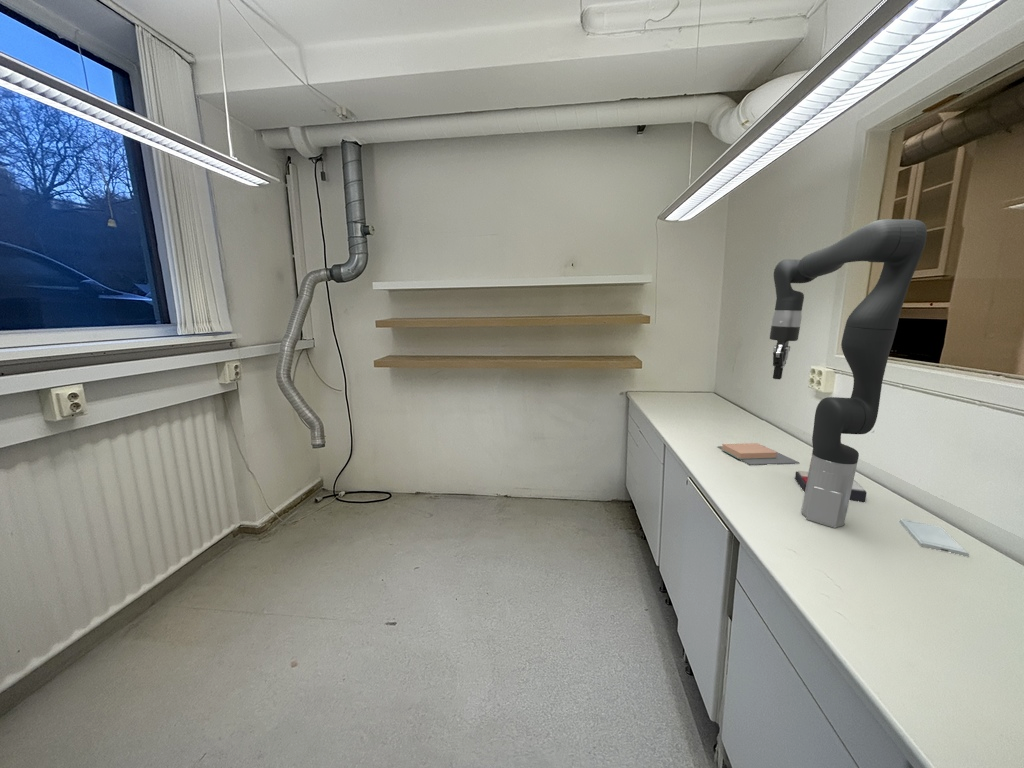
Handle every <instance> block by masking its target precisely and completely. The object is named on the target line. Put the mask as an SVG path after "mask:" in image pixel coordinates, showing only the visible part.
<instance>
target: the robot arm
mask: <svg viewBox="0 0 1024 768" xmlns="http://www.w3.org/2000/svg"><path fill="white" fill-rule="evenodd" d="M927 230H928V229H927V225H925V223H924V222H923V221H921V220H918V219H905V218H904V219H897V218H896V219H893V218H892V219H887V218H886V219H878V220H875V221H872V222H869V223H867V224H866V225H863V226H862V227H860V228H858V229H857V230H855V231H853V232H851V233H850V234H848V235H847V236H846V237H845V236H844V237H843V238H842V239H840V240H838V241H837V242H835V243H833V244H831V245H829V246H826V247H824V248H821V249H818V250H816V251H813V252H810V253H808V254H806V255H804V256H803V257H802V258H801V259H791V258H790V259H783V260H780V261H779V262H778V263H777V264H776V265H775V267H774V271H773V281H774V287H775V288H774V289H775V295H776V300H775V307H774V311H773V316H772V319H771V326H770V333H769V340H773V341H777V342H776V345H774V346H773V350H772V351H773V352H772V355H773V356H772V360H773V361H772V366H773V374H772V378H773V380H781V379H782V378H783V372H784V369H785V366H786V364H787V361H788V357H789V353H790V351H791V346H790V345H789V342H797V341H799V335H800V330H801V323H802V314H803V313H802V312H803V304H804V300H805V294H804V293H803V292H801V291H799V290H795V289H793V287H792V285H791V284H806V283H810V282H812V281H814V280H815V279H817V278H818V277H821V276H822V277H823V276H826V275H829V274H831V273H832V274H833V273H834V272H835V271H837V270H839V269H841V268H842V267H843V266H844V265H845V264H848V263H856V262H868V263H883V265H882V269H881V273H880V276H879V279H878V281H877V282H876V284H875V286H874V287H873V288H872V290H871V291H870V292H869V293H868V294H867V296H865V298H864V299H863V300H862V301H861V302H860V303H859V304H857V306H856V307H855V308H854V309H853V310H852V311H851V313H850V314H849V315H848V317H847V320H846V322H845V326H844V330H843V334H842V337H841V341H840V342H841V344H840V345H841V351H842V354H843V355H844V359H845V360H846V362H847V364H848V366H849V369H850V371H851V373H852V376H853V377H852V378H853V384H852V385H853V386H852V391H851V396H850V397H840V396H839V397H837V396H834V397H833V396H831V397H829V396H828V397H824V398H822V399H821V400H820V401H819V403H818V404H817V406H816V409H815V412H814V420H813V429H812V439H811V440H812V441H811V444H812V453H811V458H810V463H809V466H808V467H809V468H808V472H809V473H808V478H807V483H806V489H805V492H804V494H803V501H802V506H801V514H802V515H803V516H804V517H805V519H806V520H808V521H811V522H814V523H817V524H821V525H823V526H827V527H830V528H834V529H837V528H838V527H842V526H844V525H845V522H846V519H847V513H848V508H849V503H850V501H851V500H850V495H851V490H852V486H853V481H854V480H855V476H856V473H857V472H856V470H857V466H858V463H859V457H860V456H859V451H858V450H857V449H855V448H854V447H852V446H849V445H846V444H843V443H842V442H841V441H842V434H843V435H844V434H846V435H865V434H867V433H869V432H871V431H872V430H873V428H874V426H875V425H876V422H877V419H878V416H879V415H878V414H879V407H880V403H881V402H880V401H881V394H882V386H883V379H884V376H885V372H886V368H887V363H888V359H889V355H890V352H891V350H892V346H893V344H894V339H895V337H896V332H897V329H898V323H899V319H900V316H901V313H902V309H903V307H904V302H905V299H906V296H907V293H908V289H909V287H910V284H911V281H912V279H913V276H914V274H915V272H916V270H917V266H918V264H919V262H920V259H921V257H922V253H923V251H924V249H925V246H926V243H927V238H928V237H927V236H928V231H927Z"/></svg>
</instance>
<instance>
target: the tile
mask: <svg viewBox="0 0 1024 768" xmlns="http://www.w3.org/2000/svg"><path fill="white" fill-rule="evenodd" d="M762 445H763V444H760V443H758V442H748V443H745V442H744V443H723V444H722V445H721V446H722V451H723V452H725V453H726V454H729V455H730V456H732V457H734V458H735V459H738V460H739V461H741V460H743V459H775V458H776V456H777V452H778V451H776V452H775V450H774V449H772V448H770V447H767V446H765V445H763V446H762ZM771 449H772V450H771ZM773 450H774V451H773Z"/></svg>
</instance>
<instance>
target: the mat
mask: <svg viewBox="0 0 1024 768" xmlns="http://www.w3.org/2000/svg"><path fill="white" fill-rule="evenodd" d="M761 445H762V446H764V445H763V444H761ZM716 448H718V449H719V450H722V445H720V446H719V445H718V446H717V447H716ZM770 449H771V450H773V451H775V450H774V449H772V448H770ZM722 451H723V450H722ZM775 452H777V456H776V458H775V459H743V460H742V461H741V462H743V463H744V462H745V464H746V463H747V465H748V464H749V465H748V466H768V465H767V464H777V465H796V464H795V463H799V464H800V462H799V461H798V460H795V459H793V458H791V457H789V456H787V455H785V454H782V453H780V452H778V451H775Z"/></svg>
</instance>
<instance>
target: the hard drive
mask: <svg viewBox="0 0 1024 768" xmlns="http://www.w3.org/2000/svg"><path fill="white" fill-rule="evenodd" d="M898 523H899V524H900V525H901V526H902V527H903V528H904V530H906V531H907V533H908V534H909V535H910V537H911V538H912V539H913V540H914V541H915V543H917V544H918V546H919V547H920V546H921V547H920V548H925V549H929V548H931V550H934V549H936V550H935V551H938V550H941V551H940V552H943V551H946V552H945V553H947V552H951V553H950V554H952V553H955V554H954V555H956V554H959V555H958V556H961V555H963V556H962V557H965V556H968V557H967V558H969V557H970V553H969V552H967V550H965V548H964V547H962V545H961V544H960V543H959V542H957V540H955V539H954V538H953V536H951V535H950V534H949V532H947V531H946V530H945V529H944V528H943V527H942V526H939V525H935V524H929V523H925V522H920V521H914V520H911V519H910V520H909V519H904V518H901V519H899V521H898Z"/></svg>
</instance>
